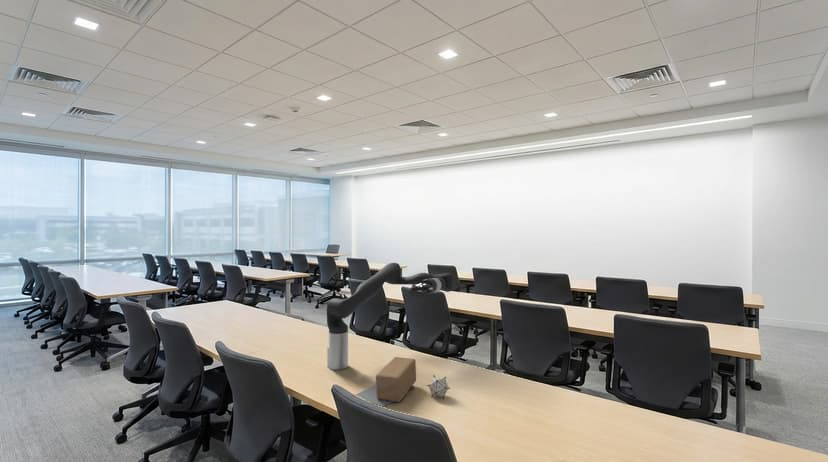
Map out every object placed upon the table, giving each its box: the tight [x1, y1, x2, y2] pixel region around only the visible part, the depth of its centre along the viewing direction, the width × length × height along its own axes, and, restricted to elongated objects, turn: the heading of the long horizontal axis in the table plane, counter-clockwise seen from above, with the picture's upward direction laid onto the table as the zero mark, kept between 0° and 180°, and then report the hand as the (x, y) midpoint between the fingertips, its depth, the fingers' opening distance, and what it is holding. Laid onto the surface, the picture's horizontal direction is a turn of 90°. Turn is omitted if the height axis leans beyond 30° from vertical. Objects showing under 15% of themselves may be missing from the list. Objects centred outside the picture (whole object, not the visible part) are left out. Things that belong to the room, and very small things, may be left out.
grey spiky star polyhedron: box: [426, 374, 451, 400], centre depth 154 cm, size 9×8×10 cm
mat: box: [355, 384, 415, 408], centre depth 157 cm, size 16×20×2 cm
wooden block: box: [375, 356, 417, 403], centre depth 158 cm, size 10×10×20 cm
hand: (412, 289), depth 187 cm, fingers closed
